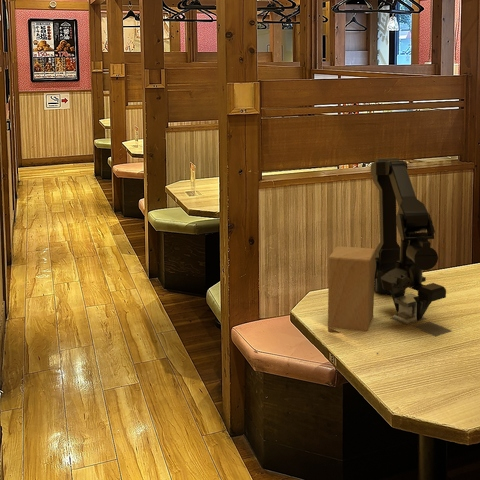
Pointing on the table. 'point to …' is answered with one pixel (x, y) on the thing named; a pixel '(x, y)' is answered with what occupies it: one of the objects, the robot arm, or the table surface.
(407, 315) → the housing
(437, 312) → the table surface
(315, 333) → the table surface
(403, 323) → the stand
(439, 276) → the table surface
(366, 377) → the table surface
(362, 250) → the wooden block
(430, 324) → the stand
